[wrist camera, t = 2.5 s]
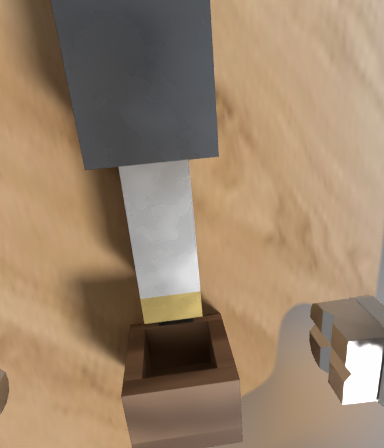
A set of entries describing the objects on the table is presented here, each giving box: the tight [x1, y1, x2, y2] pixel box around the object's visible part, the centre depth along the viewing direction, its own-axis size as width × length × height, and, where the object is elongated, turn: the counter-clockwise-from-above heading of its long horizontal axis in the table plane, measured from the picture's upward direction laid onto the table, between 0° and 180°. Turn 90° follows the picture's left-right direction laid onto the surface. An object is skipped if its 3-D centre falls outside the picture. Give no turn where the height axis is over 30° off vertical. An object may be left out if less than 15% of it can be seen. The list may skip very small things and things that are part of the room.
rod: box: [119, 160, 203, 324], centre depth 20 cm, size 22×4×4 cm, turn 5°
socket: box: [121, 314, 243, 448], centre depth 26 cm, size 6×8×8 cm
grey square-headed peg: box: [51, 0, 219, 327], centre depth 21 cm, size 27×7×7 cm, turn 5°
